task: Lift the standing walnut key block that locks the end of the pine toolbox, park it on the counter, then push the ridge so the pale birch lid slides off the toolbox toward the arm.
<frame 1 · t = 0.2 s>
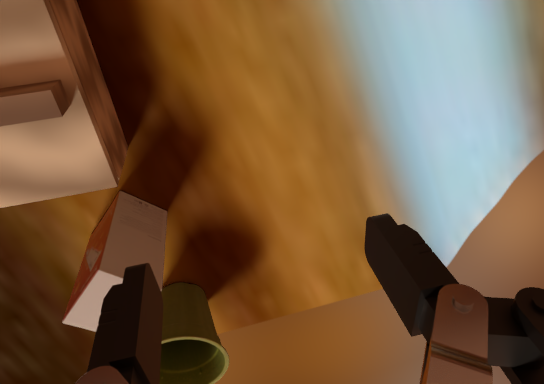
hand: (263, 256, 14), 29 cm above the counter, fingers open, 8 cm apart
plant pot: (181, 296, 55), on the counter
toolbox: (38, 72, 35), on the counter
small box: (129, 222, 46), on the counter
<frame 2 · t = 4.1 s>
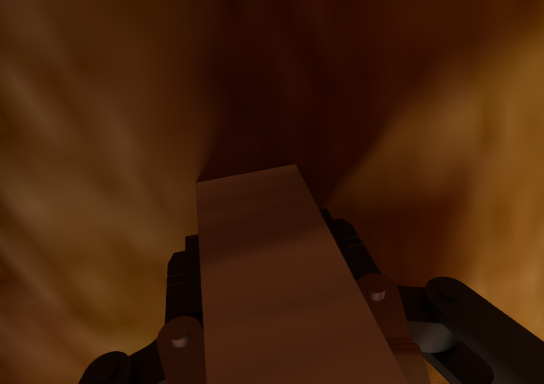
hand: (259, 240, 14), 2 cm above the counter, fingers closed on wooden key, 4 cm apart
wooden key: (252, 212, 16), on the counter, touching gripper
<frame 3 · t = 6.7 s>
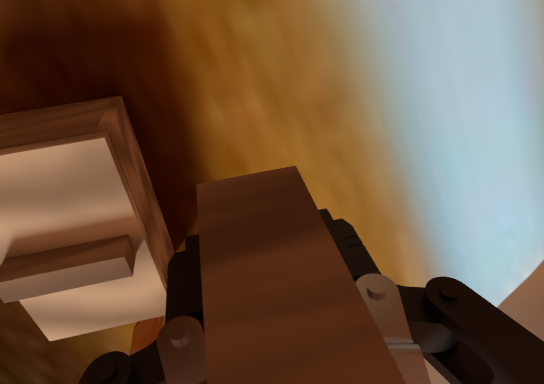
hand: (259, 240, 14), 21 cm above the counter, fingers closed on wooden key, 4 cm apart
wooden key: (252, 214, 16), point 19 cm above the counter, touching gripper
lid: (70, 262, 28), point 9 cm above the counter, slide at 0.0 cm
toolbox: (93, 196, 35), on the counter
small box: (171, 314, 46), on the counter
when the fingers open (3 cm above the counter, at t = 9.7 s): wooden key drops 1 cm, on the counter.
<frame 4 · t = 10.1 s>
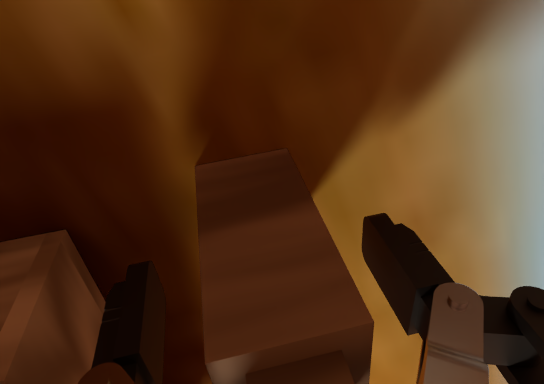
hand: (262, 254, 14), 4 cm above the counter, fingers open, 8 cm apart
wooden key: (248, 194, 17), on the counter
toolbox: (30, 371, 21), on the counter
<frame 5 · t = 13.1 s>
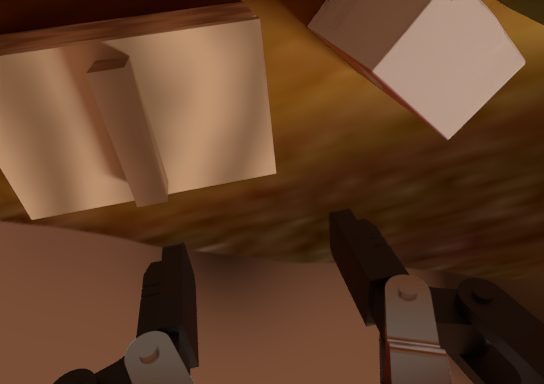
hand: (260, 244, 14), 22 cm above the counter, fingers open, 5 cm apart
lid: (134, 133, 24), point 9 cm above the counter, slide at 0.0 cm
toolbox: (145, 88, 31), on the counter
small box: (361, 24, 32), on the counter
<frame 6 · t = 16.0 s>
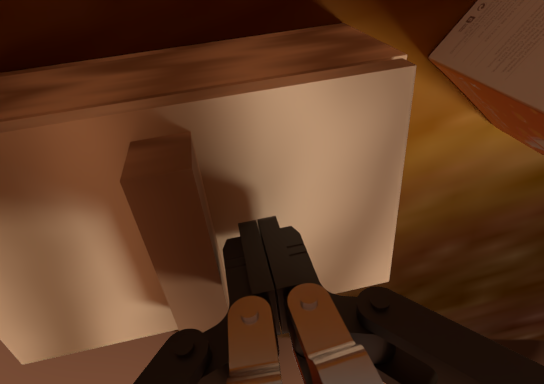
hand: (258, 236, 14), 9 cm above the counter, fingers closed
lid: (190, 249, 14), point 9 cm above the counter, slide at 0.4 cm, touching gripper
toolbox: (194, 145, 22), on the counter
small box: (499, 52, 22), on the counter
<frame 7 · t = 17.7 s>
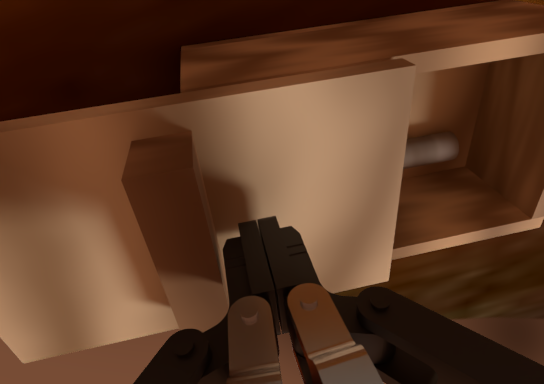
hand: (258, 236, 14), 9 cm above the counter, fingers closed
lid: (191, 248, 14), point 9 cm above the counter, slide at 9.8 cm, touching gripper
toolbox: (349, 118, 23), on the counter
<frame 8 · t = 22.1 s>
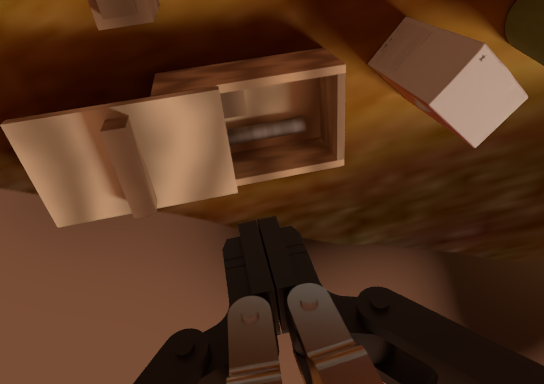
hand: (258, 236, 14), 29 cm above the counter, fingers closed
plant pot: (529, 15, 43), on the counter
lid: (132, 166, 34), point 9 cm above the counter, slide at 12.0 cm
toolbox: (248, 109, 42), on the counter
small box: (405, 61, 43), on the counter
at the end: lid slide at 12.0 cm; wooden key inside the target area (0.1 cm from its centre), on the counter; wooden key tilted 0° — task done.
